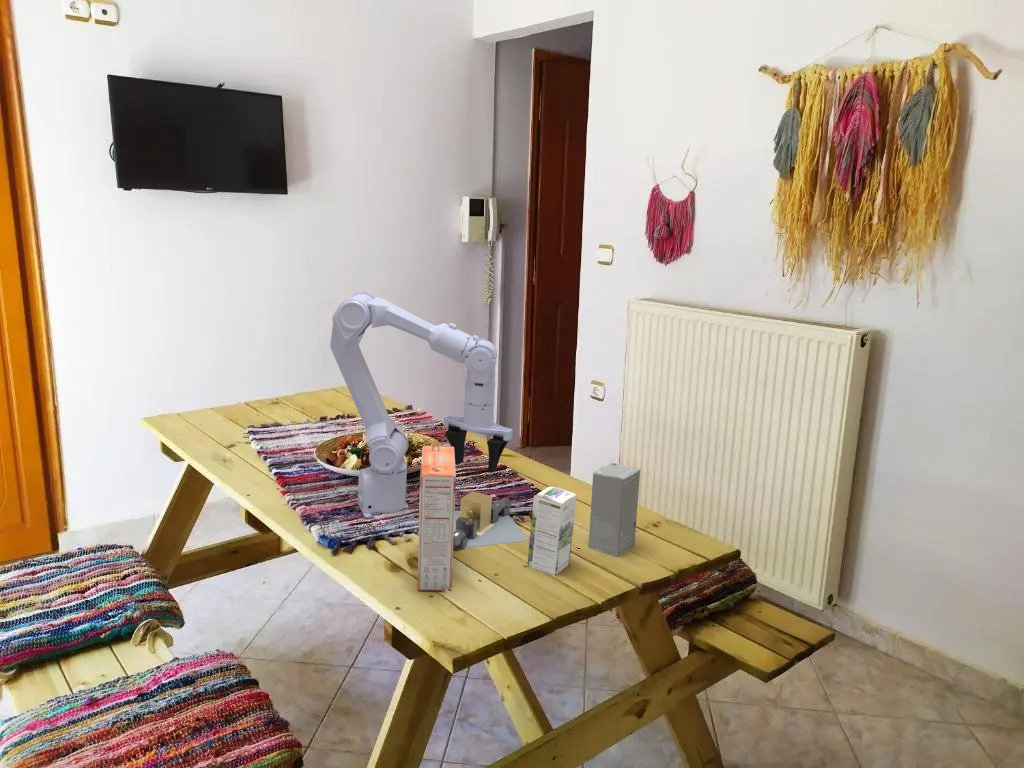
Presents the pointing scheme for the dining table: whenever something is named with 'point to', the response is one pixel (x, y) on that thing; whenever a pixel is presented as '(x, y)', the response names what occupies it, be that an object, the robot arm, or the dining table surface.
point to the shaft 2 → (500, 509)
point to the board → (496, 533)
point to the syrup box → (551, 530)
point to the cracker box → (436, 518)
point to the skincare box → (614, 509)
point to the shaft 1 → (464, 532)
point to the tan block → (477, 509)
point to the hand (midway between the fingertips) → (475, 467)
